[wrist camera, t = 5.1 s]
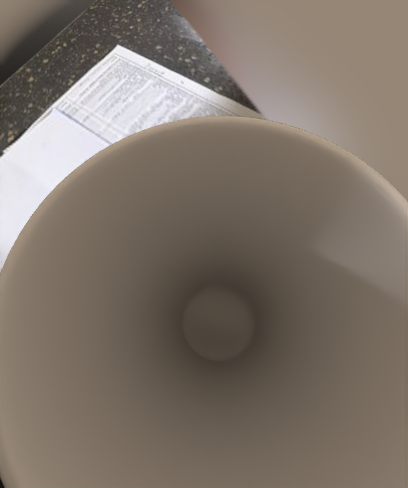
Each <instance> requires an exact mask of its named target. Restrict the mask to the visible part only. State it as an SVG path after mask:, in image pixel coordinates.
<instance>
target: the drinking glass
mask: <svg viewBox="0 0 408 488" xmlns="http://www.w3.org/2000/svg"><path fill="white" fill-rule="evenodd" d="M0 478H1V481H2V483H3V486H4V488H408V202H407V200H406V199H405V198H404V197H403V196H402V195H401V194H400V193H399V192H398V191H397V190H396V189H395V188H394V187H393V186H392V185H391V184H390V183H389V182H388V181H387V180H386V179H385V178H384V177H382V176H381V175H380V174H379V173H377V172H376V171H375V170H374V169H372V168H371V167H370V166H369V165H367V164H366V163H364V162H363V161H362V160H360V159H359V158H357V157H356V156H354V155H353V154H351V153H350V152H348V151H346V150H345V149H343V148H341V147H339V146H338V145H336V144H334V143H332V142H330V141H328V140H326V139H324V138H322V137H319V136H317V135H315V134H312V133H310V132H307V131H304V130H302V129H299V128H296V127H293V126H289V125H286V124H283V123H278V122H273V121H269V120H264V119H257V118H250V117H239V116H207V117H195V118H189V119H183V120H177V121H173V122H169V123H164V124H161V125H157V126H154V127H151V128H148V129H145V130H142V131H140V132H137V133H135V134H132V135H130V136H128V137H126V138H124V139H122V140H119V141H117V142H115V143H113V144H112V145H110V146H108V147H107V148H105V149H103V150H101V151H100V152H98V153H97V154H95V155H94V156H92V157H91V158H89V159H88V160H87V161H85V162H84V163H82V164H81V165H80V166H79V167H77V168H76V169H75V170H74V171H72V172H71V173H70V174H69V175H68V176H67V177H66V178H65V179H64V180H63V181H61V182H60V183H59V184H58V185H57V186H56V187H55V188H54V189H53V191H52V192H51V193H50V194H49V195H48V196H47V197H46V198H45V199H44V200H43V202H42V203H41V204H40V205H39V207H38V208H37V209H36V211H35V212H34V213H33V214H32V216H31V217H30V219H29V220H28V222H27V223H26V225H25V226H24V228H23V229H22V231H21V232H20V234H19V236H18V238H17V239H16V241H15V243H14V245H13V247H12V248H11V250H10V252H9V254H8V257H7V259H6V261H5V263H4V265H3V268H2V270H1V272H0Z"/></svg>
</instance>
